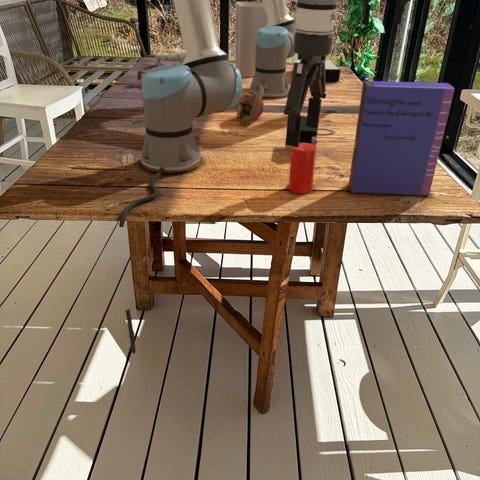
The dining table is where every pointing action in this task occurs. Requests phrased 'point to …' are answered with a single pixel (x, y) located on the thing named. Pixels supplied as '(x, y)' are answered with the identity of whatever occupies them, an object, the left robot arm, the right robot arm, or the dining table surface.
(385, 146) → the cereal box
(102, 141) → the dining table surface
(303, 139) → the figurine character
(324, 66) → the left robot arm
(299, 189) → the can
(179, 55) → the toy
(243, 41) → the tall cream pillar
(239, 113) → the brown lumpy shape
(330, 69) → the disc drive
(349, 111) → the dining table surface
